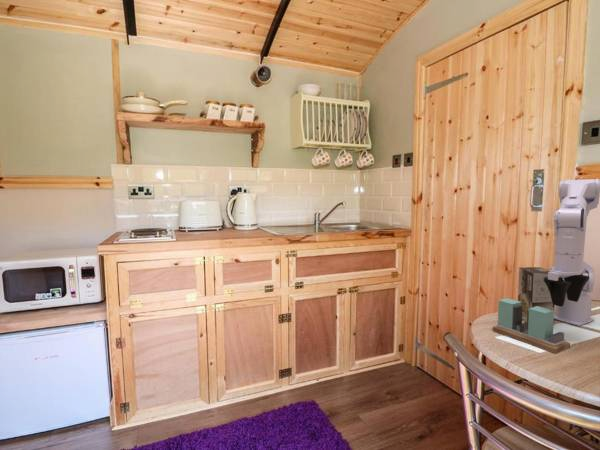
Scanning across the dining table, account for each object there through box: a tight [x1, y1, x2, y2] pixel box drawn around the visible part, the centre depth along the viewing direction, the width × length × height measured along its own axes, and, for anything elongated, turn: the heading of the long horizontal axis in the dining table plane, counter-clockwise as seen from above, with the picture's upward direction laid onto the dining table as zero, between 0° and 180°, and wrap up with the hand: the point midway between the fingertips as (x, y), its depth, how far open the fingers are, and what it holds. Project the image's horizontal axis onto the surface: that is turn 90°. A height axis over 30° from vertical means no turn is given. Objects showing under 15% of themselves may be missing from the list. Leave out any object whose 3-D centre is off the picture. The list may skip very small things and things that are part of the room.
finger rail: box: [492, 297, 571, 354], centre depth 92 cm, size 7×16×9 cm, turn 27°
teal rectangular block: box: [527, 306, 555, 339], centre depth 89 cm, size 5×4×7 cm
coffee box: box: [517, 266, 555, 326], centre depth 104 cm, size 9×6×16 cm
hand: (565, 303), depth 91 cm, fingers open, 7 cm apart
